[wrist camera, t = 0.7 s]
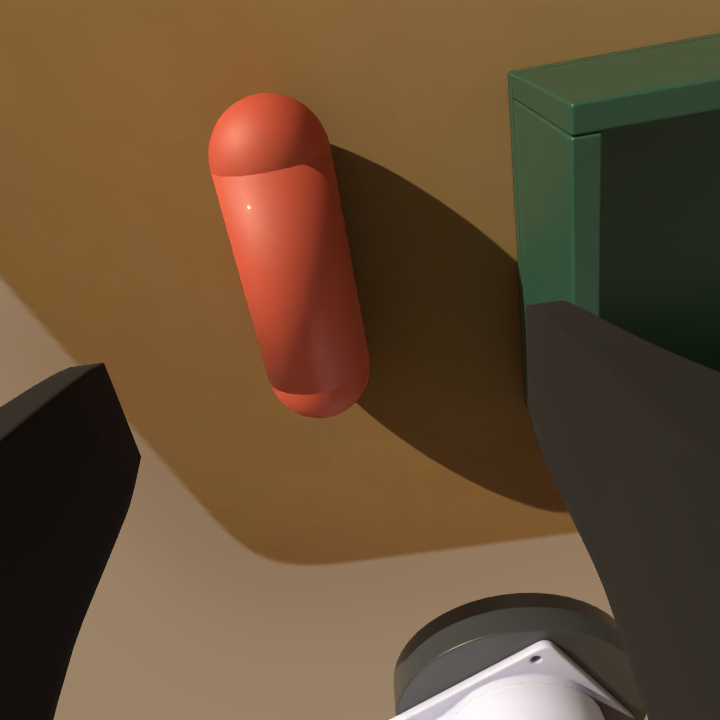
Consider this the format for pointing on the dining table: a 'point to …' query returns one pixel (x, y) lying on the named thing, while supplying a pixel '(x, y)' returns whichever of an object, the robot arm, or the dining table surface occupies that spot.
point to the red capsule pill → (291, 251)
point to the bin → (623, 191)
